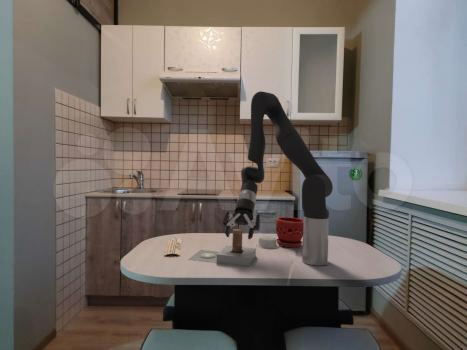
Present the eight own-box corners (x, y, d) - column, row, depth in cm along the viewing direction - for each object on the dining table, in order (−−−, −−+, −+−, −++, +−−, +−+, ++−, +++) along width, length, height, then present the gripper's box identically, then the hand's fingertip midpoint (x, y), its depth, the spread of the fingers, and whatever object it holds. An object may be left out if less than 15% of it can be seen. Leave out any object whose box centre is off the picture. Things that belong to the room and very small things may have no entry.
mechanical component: (261, 243, 136) (252, 248, 128) (261, 234, 136) (252, 238, 127) (281, 246, 132) (273, 252, 123) (281, 237, 132) (274, 242, 123)
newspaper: (168, 242, 137) (168, 238, 137) (183, 241, 138) (183, 238, 138) (164, 258, 114) (164, 253, 114) (182, 257, 115) (182, 253, 115)
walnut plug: (242, 258, 111) (243, 229, 110) (240, 261, 107) (241, 231, 107) (233, 257, 112) (234, 228, 111) (230, 260, 108) (231, 230, 108)
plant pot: (298, 250, 126) (299, 223, 125) (270, 245, 133) (271, 219, 132) (308, 244, 137) (309, 218, 137) (281, 239, 144) (282, 215, 143)
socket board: (255, 258, 114) (256, 248, 114) (248, 269, 102) (249, 258, 102) (200, 252, 120) (201, 242, 120) (187, 262, 108) (187, 251, 108)
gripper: (227, 196, 120) (218, 230, 110) (262, 198, 117) (255, 233, 106) (231, 207, 126) (222, 240, 115) (263, 209, 122) (257, 244, 111)
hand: (238, 237), depth 111 cm, fingers open, 8 cm apart
